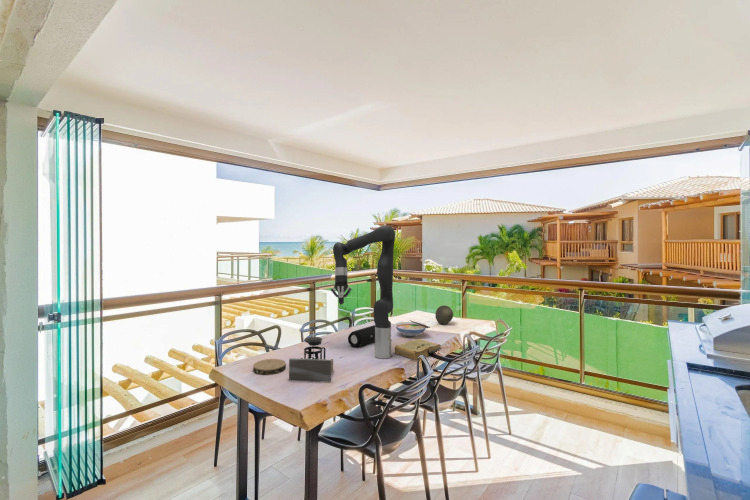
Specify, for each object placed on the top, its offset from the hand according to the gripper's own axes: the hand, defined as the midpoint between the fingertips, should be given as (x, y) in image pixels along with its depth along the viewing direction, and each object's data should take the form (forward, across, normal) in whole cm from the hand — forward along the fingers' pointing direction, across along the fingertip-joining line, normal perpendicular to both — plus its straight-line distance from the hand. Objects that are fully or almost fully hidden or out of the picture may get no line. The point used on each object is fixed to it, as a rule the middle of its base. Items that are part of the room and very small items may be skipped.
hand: (341, 304), depth 212 cm
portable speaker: (+24, +9, +28) cm, 38 cm away
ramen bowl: (+20, +38, +52) cm, 68 cm away
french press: (+35, -8, -26) cm, 45 cm away
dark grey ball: (+13, +63, +91) cm, 112 cm away
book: (+30, +43, +14) cm, 55 cm away
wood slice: (+34, -32, -26) cm, 53 cm away
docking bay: (+36, -7, -30) cm, 48 cm away
